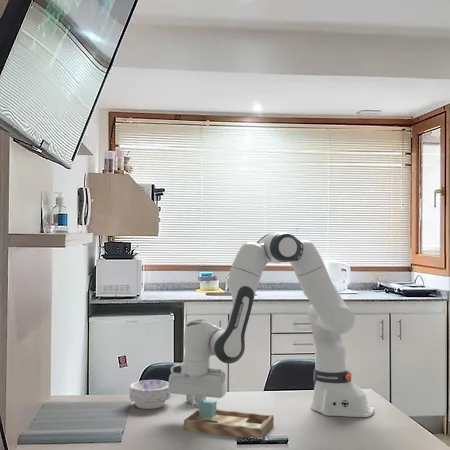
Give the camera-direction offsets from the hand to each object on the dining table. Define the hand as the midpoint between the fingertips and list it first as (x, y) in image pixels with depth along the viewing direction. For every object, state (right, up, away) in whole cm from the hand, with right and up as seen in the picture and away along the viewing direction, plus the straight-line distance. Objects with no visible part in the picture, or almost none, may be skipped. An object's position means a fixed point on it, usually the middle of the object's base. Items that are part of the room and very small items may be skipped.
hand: (196, 408), depth 192 cm
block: (+4, -2, -2) cm, 5 cm away
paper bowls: (-18, -5, +17) cm, 25 cm away
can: (-1, -5, +23) cm, 23 cm away
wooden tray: (+11, -4, -8) cm, 14 cm away
